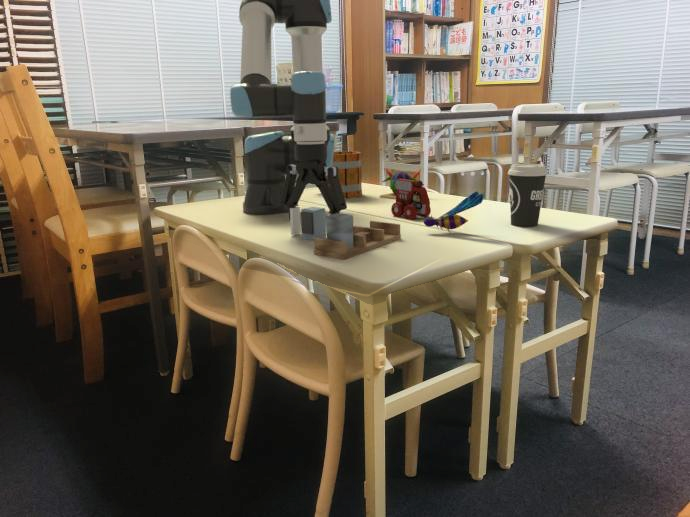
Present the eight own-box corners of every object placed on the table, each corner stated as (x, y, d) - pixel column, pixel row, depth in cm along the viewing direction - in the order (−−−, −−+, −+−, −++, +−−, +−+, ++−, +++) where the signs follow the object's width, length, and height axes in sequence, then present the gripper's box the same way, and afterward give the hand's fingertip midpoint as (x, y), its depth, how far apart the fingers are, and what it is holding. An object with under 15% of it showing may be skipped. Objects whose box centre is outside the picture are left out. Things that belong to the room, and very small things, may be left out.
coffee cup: (524, 230, 133) (528, 168, 129) (496, 223, 141) (499, 165, 137) (552, 226, 137) (557, 165, 133) (524, 219, 145) (527, 162, 141)
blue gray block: (325, 237, 131) (324, 208, 129) (313, 240, 128) (312, 211, 126) (313, 235, 134) (312, 206, 132) (300, 238, 130) (299, 209, 128)
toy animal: (393, 193, 195) (393, 166, 192) (426, 197, 185) (427, 169, 182) (371, 197, 187) (371, 169, 185) (405, 202, 177) (406, 172, 175)
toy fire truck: (418, 222, 146) (418, 183, 143) (387, 215, 156) (387, 179, 153) (436, 218, 150) (437, 180, 147) (405, 212, 160) (405, 176, 157)
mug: (370, 195, 192) (369, 151, 188) (347, 200, 182) (346, 155, 178) (326, 191, 204) (324, 150, 200) (302, 196, 193) (300, 153, 189)
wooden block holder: (313, 254, 116) (312, 216, 114) (372, 234, 133) (371, 201, 131) (344, 259, 111) (343, 220, 109) (400, 238, 128) (400, 204, 126)
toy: (421, 231, 135) (422, 190, 132) (476, 229, 136) (477, 188, 133) (428, 237, 128) (429, 195, 125) (485, 235, 129) (488, 193, 126)
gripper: (262, 142, 129) (267, 234, 135) (341, 144, 115) (343, 246, 121) (284, 141, 135) (288, 228, 140) (361, 142, 121) (362, 239, 127)
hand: (314, 236), depth 131 cm, fingers open, 11 cm apart
